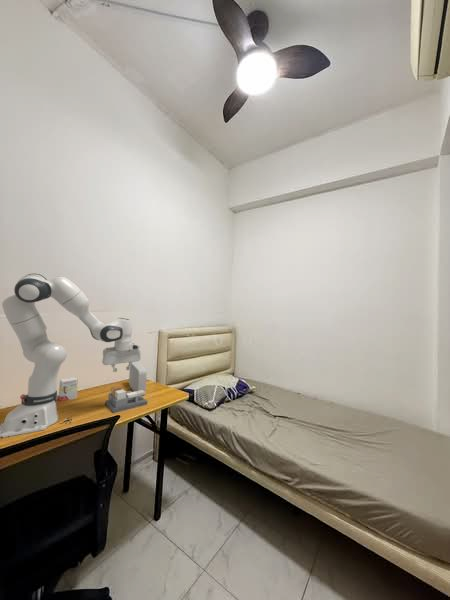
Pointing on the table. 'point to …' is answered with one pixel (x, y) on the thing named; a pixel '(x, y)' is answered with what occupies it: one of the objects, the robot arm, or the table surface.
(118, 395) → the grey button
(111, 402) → the grey stepped base
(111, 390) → the orange button
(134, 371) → the rounded white slab
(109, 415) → the table surface
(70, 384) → the ink box
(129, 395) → the rocker
